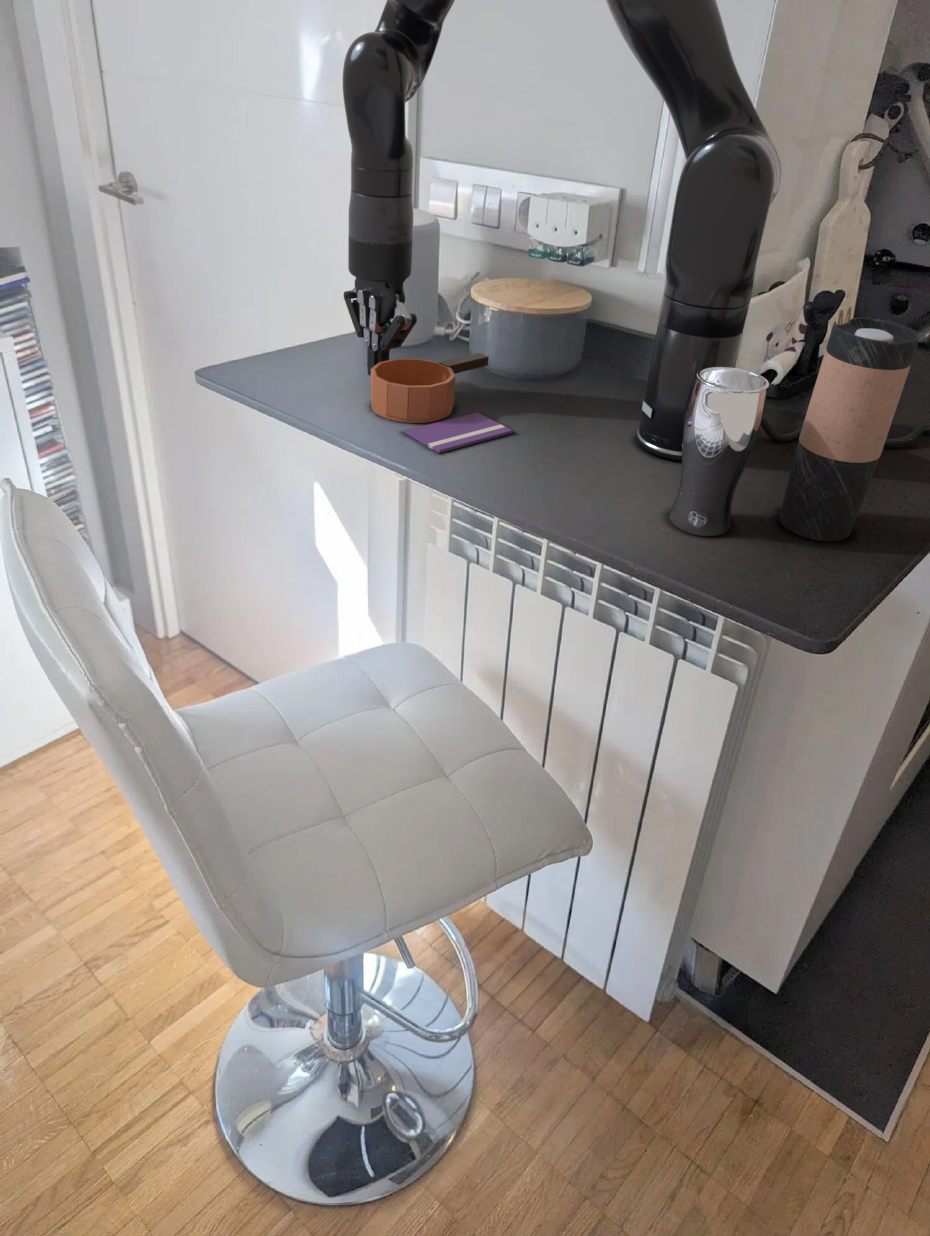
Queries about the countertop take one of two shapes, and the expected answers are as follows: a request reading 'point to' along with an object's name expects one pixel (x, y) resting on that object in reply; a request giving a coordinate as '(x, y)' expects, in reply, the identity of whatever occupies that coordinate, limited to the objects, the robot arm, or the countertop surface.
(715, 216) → the robot arm
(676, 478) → the countertop surface
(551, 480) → the countertop surface
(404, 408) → the pan
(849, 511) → the travel mug
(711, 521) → the beer glass
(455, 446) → the towel
